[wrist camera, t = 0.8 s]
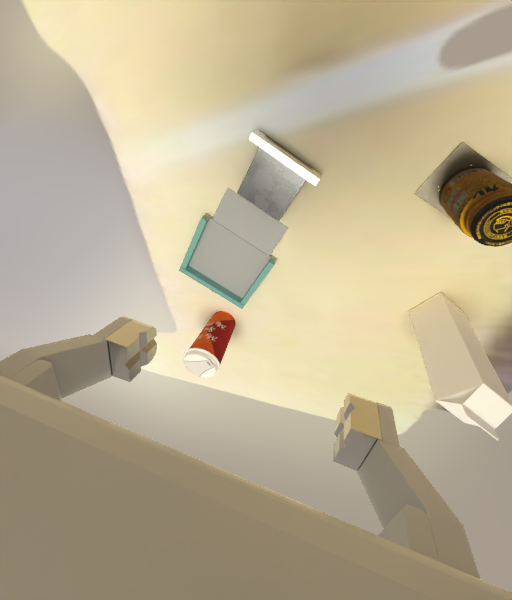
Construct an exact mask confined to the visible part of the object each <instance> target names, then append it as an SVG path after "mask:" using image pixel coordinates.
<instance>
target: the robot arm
mask: <svg viewBox="0 0 512 600" xmlns="http://www.w3.org/2000/svg"><path fill="white" fill-rule="evenodd" d="M156 335H157V334H156V329H155V328H154V327H152V326H149V325H147V324H144V323H141V322H138V321H136V320H132V319H130V318H127V317H120V318H118V319H117V320H115V321H114V322H112V323H111V324H109V325H108V326H106V327H105V328H104V329H102V330H100V331H99V332H97V333H96V334H94V335H85V336H80V337H76V338H71V339H67V340H62V341H58V342H53V343H49V344H44V345H40V346H36V347H31V348H27V349H22V350H20V351H18V352H16V353H15V354H13V355H11V356H9V357H7V358H6V359H4V360H2V361H0V600H512V592H509V591H506V590H504V589H502V588H500V587H497V586H495V585H493V584H490V583H488V582H485V581H483V580H481V579H480V576H479V573H478V570H477V567H476V564H475V561H474V558H473V555H472V552H471V549H470V545H469V542H468V539H467V536H466V533H465V530H464V527H463V525H462V523H461V522H460V521H459V519H458V518H457V517H456V516H455V514H454V513H453V512H452V511H451V509H450V508H449V506H448V505H447V504H446V503H445V501H444V500H443V499H442V497H441V496H440V495H439V493H438V492H437V491H436V490H435V488H434V487H433V486H432V484H431V483H430V482H429V480H428V479H427V478H426V477H425V475H424V474H423V473H422V471H421V470H420V469H419V467H418V466H417V465H416V464H415V462H414V461H413V460H412V458H411V457H410V456H409V454H408V453H407V452H406V451H405V449H404V448H401V447H399V441H398V437H397V431H396V426H395V421H394V416H393V411H392V408H391V407H389V406H386V405H383V404H380V403H377V402H376V403H375V402H373V401H370V400H367V399H364V398H361V397H358V396H355V395H352V394H349V393H348V395H347V396H346V398H345V400H344V407H342V408H340V410H339V413H338V415H337V419H336V423H335V435H336V437H337V439H336V441H335V444H334V461H335V462H337V463H339V464H342V465H344V466H347V467H349V468H351V469H354V470H356V471H358V475H359V477H360V479H361V481H362V484H363V486H364V487H365V490H366V492H367V494H368V496H369V498H370V500H371V503H372V505H373V507H374V509H375V511H376V513H377V515H378V518H379V520H380V522H381V524H382V526H383V528H384V530H383V531H382V532H381V533H380V534H379V535H375V534H373V533H370V532H368V531H366V530H363V529H361V528H359V527H356V526H354V525H352V524H349V523H347V522H345V521H342V520H340V519H337V518H335V517H333V516H331V515H328V514H326V513H324V512H321V511H319V510H316V509H314V508H312V507H309V506H307V505H305V504H302V503H300V502H297V501H295V500H293V499H290V498H288V497H286V496H283V495H281V494H279V493H276V492H274V491H271V490H269V489H267V488H265V487H262V486H260V485H257V484H255V483H253V482H250V481H247V480H246V479H243V478H241V477H239V476H236V475H234V474H232V473H229V472H227V471H224V470H222V469H219V468H217V467H215V466H213V465H210V464H208V463H206V462H203V461H201V460H198V459H196V458H194V457H191V456H189V455H187V454H184V453H182V452H180V451H177V450H175V449H172V448H170V447H168V446H166V445H163V444H161V443H159V442H156V441H154V440H152V439H149V438H147V437H145V436H142V435H140V434H137V433H135V432H133V431H130V430H128V429H126V428H123V427H121V426H119V425H116V424H114V423H112V422H109V421H107V420H104V419H102V418H100V417H97V416H95V415H93V414H90V413H88V412H85V411H83V410H81V409H79V408H76V407H74V406H72V405H69V404H67V403H65V402H62V398H64V397H66V396H68V395H71V394H73V393H75V392H77V391H80V390H82V389H84V388H86V387H89V386H91V385H94V384H96V383H98V382H100V381H103V380H105V379H107V378H110V377H111V376H114V377H117V378H120V379H123V380H126V381H129V382H130V381H131V380H132V379H133V378H134V377H135V376H136V375H137V374H138V373H139V372H140V371H141V366H144V365H147V364H148V363H149V362H150V361H151V360H152V359H153V357H154V355H155V353H156V349H157V343H156V342H155V340H154V337H155V336H156Z"/></svg>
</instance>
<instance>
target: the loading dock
mask: <svg viewBox="0 0 512 600" xmlns="http://www.w3.org/2000/svg"><path fill="white" fill-rule="evenodd" d="M287 229H288V227H286V226H285V225H283V224H282V223H280V222H279V221H277V220H276V219H274V218H273V217H271V216H270V215H268V214H267V213H265V212H264V211H262V210H261V209H259V208H258V207H256V206H255V205H253V204H252V203H250V202H249V201H247V200H246V199H244V198H243V197H241V196H240V195H238V194H237V193H235V192H234V191H232V190H231V189H229V188H227V190H226V192H225V194H224V197H223V199H222V201H221V203H220V205H219V207H218V209H217V211H216V213H215V215H214V217H211V216H210V215H208V214H205V215H204V216H203V217H202V218H201V220H200V222H199V225H198V227H197V229H196V232H195V234H194V237H193V239H192V241H191V244H190V246H189V248H188V251H187V253H186V256H185V258H184V260H183V263H182V265H181V267H180V269H179V271H181V272H182V273H184V274H186V275H187V276H189V277H191V278H192V279H194V280H196V281H197V282H199V283H200V284H202V285H204V286H205V287H207V288H209V289H210V290H212V291H214V292H215V293H217V294H218V295H220V296H222V297H223V298H225V299H227V300H228V301H230V302H232V303H233V304H235V305H237V306H238V307H240V308H241V309H242V308H243V307H244V305H245V304H246V303H247V301H248V300H249V299H250V297H251V296H252V294H253V293H254V292H255V290H256V289H257V288H258V286H259V285H260V283H261V282H262V281H263V279H264V278H265V277H266V275H267V274H268V272H269V271H270V270H271V268H272V267H273V266H274V264H275V262H276V258H275V257H273V256H272V255H270V254H271V253H272V251H273V250H274V248H275V247H276V245H277V244H278V242H279V241H280V239H281V238H282V236H283V235H284V233H285V232H286V230H287Z"/></svg>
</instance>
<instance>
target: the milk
mask: <svg viewBox="0 0 512 600" xmlns="http://www.w3.org/2000/svg"><path fill="white" fill-rule="evenodd" d="M409 312H410V316H411V319H412V323H413V326H414V329H415V333H416V336H417V340H418V343H419V347H420V350H421V354H422V357H423V361H424V364H425V368H426V371H427V375H428V378H429V382H430V385H431V388H432V392H433V395H434V399H435V401H437V402H438V403H439V404H440V405H442V406H443V407H444V408H446V409H447V410H448V411H450V412H451V413H452V414H454V415H455V416H456V417H458V418H459V419H460V420H462V421H463V422H464V423H467V424H471V425H476V426H480V427H481V428H482V429H483V430H485V431H486V432H487V433H489V434H490V435H491V436H493V437H494V438H495V439H496V440H499V438H498V435H497V433H496V431H495V429H496V428H497V427H498V425H500V424H501V423H502V422H503V421H504V420H505V419H506V418H507V417H508V416H509V415H510V414H511V413H512V402H511V400H510V398H509V396H508V394H507V393H506V391H505V389H504V387H503V385H502V383H501V381H500V379H499V378H498V376H497V374H496V372H495V370H494V368H493V366H492V365H491V363H490V361H489V359H488V357H487V355H486V353H485V351H484V350H483V348H482V346H481V344H480V342H479V340H478V338H477V336H476V335H475V333H474V331H473V329H472V327H471V325H470V323H469V322H468V320H467V318H466V316H465V314H464V312H463V311H462V310H461V309H459V308H458V307H457V306H456V305H455V304H454V303H453V302H451V301H450V300H449V299H448V298H447V297H446V296H444V295H443V294H442V293H441V292H439V293H438V294H436V295H434V296H433V297H431V298H429V299H428V300H426V301H424V302H423V303H421V304H419V305H418V306H416V307H414V308H413V309H411V310H410V311H409Z"/></svg>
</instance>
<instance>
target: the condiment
mask: <svg viewBox="0 0 512 600" xmlns="http://www.w3.org/2000/svg"><path fill="white" fill-rule="evenodd" d="M471 164H472V166H470V165H471ZM511 182H512V178H511V177H510V176H509V175H507V174H506V173H504V172H503V171H502V170H500V169H499V168H497V167H496V166H495V165H493V164H492V163H491V162H489V161H488V160H486V159H485V158H484V157H482V156H481V155H480V154H478V153H477V152H475V151H474V150H473V149H471V148H470V147H469V146H467V145H466V144H465V143H463V142H462V143H461V144H460V145H459V146H458V147H457V148H456V149H455V150H454V151H453V152H452V153H451V154H450V155H449V156H448V158H447V159H446V160H445V161H444V162H443V163H442V164H441V165H440V166H439V167H438V168H437V169H436V170H435V171H434V172H433V173H432V174H431V176H430V177H429V178H428V179H427V180H426V181H425V182H424V183H423V184H422V185H421V187H420V188H419V189H418V190H417V191H416V192H415V193H414V194H415V195H417V196H418V197H420V198H421V199H423V200H424V201H426V202H427V203H429V204H430V205H431V206H433V207H434V208H436V209H437V210H439V211H440V212H442V213H443V214H445V215H446V216H448V217H449V218H451V219H452V220H453V221H454V222H455V224H456V225H457V226H458V227H459V228H460V229H461V230H462V232H463V233H465V234H466V235H468V236H469V237H472V238H474V240H476V241H478V242H479V243H481V244H483V245H487V246H502V245H506V244H509V243H512V184H511ZM438 186H439V189H440V191H439V192H438Z"/></svg>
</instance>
